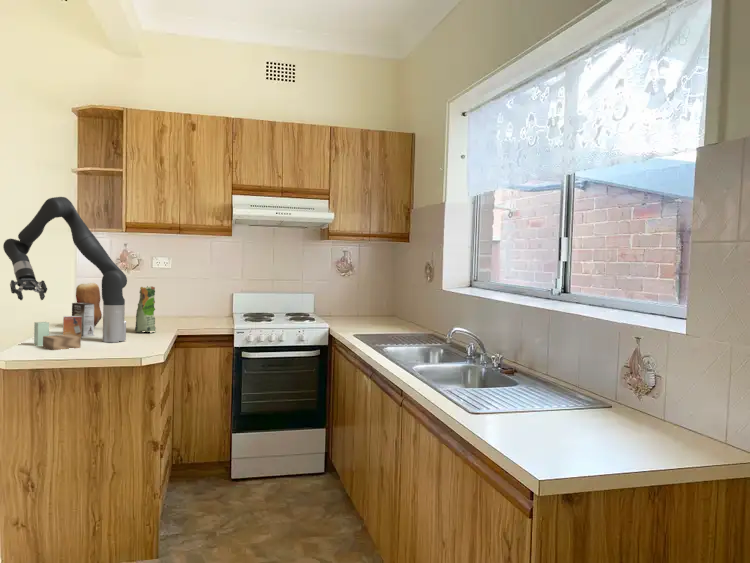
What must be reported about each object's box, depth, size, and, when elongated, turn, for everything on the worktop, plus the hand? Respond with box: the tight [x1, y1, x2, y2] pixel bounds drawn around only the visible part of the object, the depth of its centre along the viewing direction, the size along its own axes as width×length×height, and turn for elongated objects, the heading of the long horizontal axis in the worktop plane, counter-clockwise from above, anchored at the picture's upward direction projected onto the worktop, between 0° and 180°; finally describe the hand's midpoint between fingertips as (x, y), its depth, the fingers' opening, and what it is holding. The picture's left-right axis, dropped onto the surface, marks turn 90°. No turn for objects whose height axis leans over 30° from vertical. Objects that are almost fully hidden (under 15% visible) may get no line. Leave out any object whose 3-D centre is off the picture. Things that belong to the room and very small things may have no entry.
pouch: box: [134, 285, 157, 333], centre depth 310 cm, size 11×12×25 cm
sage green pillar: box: [33, 321, 50, 347], centre depth 258 cm, size 4×4×10 cm
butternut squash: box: [75, 282, 103, 328], centre depth 320 cm, size 14×13×25 cm
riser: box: [42, 334, 82, 351], centre depth 253 cm, size 11×11×5 cm
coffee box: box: [71, 302, 95, 337], centre depth 294 cm, size 9×6×16 cm
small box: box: [62, 315, 82, 338], centre depth 283 cm, size 8×6×10 cm
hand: (32, 299), depth 265 cm, fingers open, 8 cm apart
